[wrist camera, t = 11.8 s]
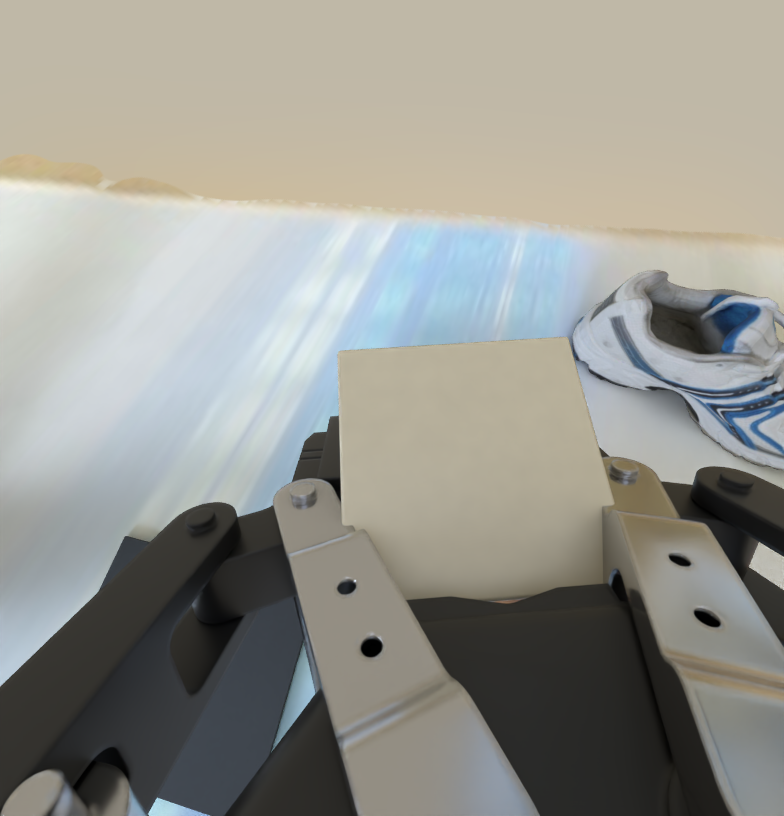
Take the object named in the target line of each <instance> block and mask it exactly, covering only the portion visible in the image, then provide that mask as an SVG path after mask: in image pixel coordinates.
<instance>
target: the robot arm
mask: <svg viewBox="0 0 784 816" xmlns="http://www.w3.org/2000/svg"><path fill="white" fill-rule="evenodd" d="M599 450H600V453H601V457H602V460H603V464H604V467H605V471H606V474H607V478H608V482H609V485H610V489H611V492H612V496H613V499H614V503H615V504H614V505H609V506H602V539H603V584H593V585H580V586H568V587H557V588H554V589H551V590H549V591H546V592H543V593H540V594H537V595H534V596H531V597H528V598H525V599H523V600H520V601H517V602H514V603H508V604H506V603H497V602H490V601H482V600H475V599H468V598H460V597H453V596H448V597H436V598H424V599H412V600H405V598H404V596H403V594H402V593H401V591H400V589H399V587H398V585H397V584H396V582H395V580H394V578H393V577H392V575H391V573H390V571H389V570H388V568H387V566H386V564H385V563H384V561H383V559H382V557H381V555H380V554H379V552H378V550H377V548H376V547H375V545H374V543H373V541H372V540H371V538H370V536H369V534H368V533H367V531H366V530H365V529H360V530H357V531H356V530H355V528H354V526H353V525H349V526H345V525H343V524H342V516H341V476H340V436H339V416H331V417H330V420H329V424H328V429H327V432H319V433H313V434H312V435H311V436H310V437H309V438H308V439H307V440H306V441H305V442H304V445H303V448H302V452H301V455H300V458H299V459H300V460H299V461H298V464H297V467H296V470H295V474H294V477H293V480H292V482H291V483H289V484H287V485H285V486H284V487H282V488H281V489H280V490H279V491H278V492H277V493H276V494H275V496H274V498H273V506H271V507H269V508H267V509H264V510H261V511H258V512H255V513H251V514H248V515H244V516H240V517H237V514H236V510H235V509H234V507H233V506H231V505H229V504H226V503H221V502H214V503H207V504H202V505H199V506H196V507H193V508H191V509H189V510H187V511H185V512H183V513H182V514H180V515H179V516H177V517H176V518H175V519H174V520H173V521H172V522H171V523H170V524H168V525H167V526H166V527H165V528H164V529H163V530H162V531H161V532H160V533H159V534H158V535H157V536H156V537H155V538H154V539H153V540H152V541H151V542H150V543H149V544H148V545H147V546H146V547H145V548H144V549H143V550H142V551H141V552H139V553H138V554H137V555H136V556H135V557H134V558H133V559H132V560H131V561H130V562H129V563H128V564H127V565H126V566H125V567H124V568H123V569H122V570H121V571H120V572H119V573H118V574H117V575H116V576H115V577H114V578H113V579H111V580H110V581H109V582H108V583H107V584H106V585H105V586H104V587H103V588H102V589H101V590H100V591H99V592H98V593H97V594H96V595H95V596H94V597H93V598H92V599H91V600H90V601H89V602H88V603H87V604H86V605H85V606H83V607H82V608H81V609H80V610H79V611H78V612H77V613H76V614H75V615H74V616H73V617H72V618H71V619H70V620H69V621H68V622H67V623H66V624H65V625H64V626H63V627H62V628H61V629H60V630H59V631H58V632H57V633H55V634H54V635H53V636H52V637H51V638H50V639H49V640H48V641H47V642H46V643H45V644H44V645H43V646H42V647H41V648H40V649H39V650H38V651H37V652H36V653H35V654H34V655H33V656H32V657H31V658H30V659H29V660H27V661H26V662H25V663H24V664H23V665H22V666H21V667H20V668H19V669H18V670H17V671H16V672H15V673H14V674H13V675H12V676H11V677H10V678H9V679H8V680H7V681H6V682H5V683H4V684H3V685H2V686H1V687H0V816H149V815H148V813H149V811H150V809H151V807H152V805H153V803H154V802H155V800H156V798H157V796H158V794H159V793H160V791H161V789H162V787H163V785H164V784H165V782H166V780H167V778H168V776H169V775H170V773H171V771H172V769H173V767H174V766H175V764H176V762H177V760H178V758H179V756H180V755H181V753H182V751H183V749H184V747H185V746H186V744H187V742H188V740H189V738H190V737H191V735H192V733H193V731H194V729H195V728H196V726H197V724H198V722H199V720H200V719H201V717H202V715H203V713H204V711H205V709H206V708H207V706H208V704H209V702H210V700H211V699H212V697H213V695H214V693H215V691H216V690H217V688H218V686H219V684H220V682H221V681H222V679H223V677H224V675H225V673H226V671H227V670H228V668H229V666H230V664H231V662H232V661H233V659H234V657H235V655H236V653H237V652H238V650H239V648H240V646H241V644H242V643H243V641H244V639H245V637H246V635H247V634H248V632H249V630H250V628H251V626H252V624H253V623H254V621H255V619H256V617H257V615H258V612H259V610H260V609H263V608H266V607H269V606H271V605H274V604H277V603H280V602H282V601H285V600H288V599H291V598H293V600H294V604H295V609H296V613H297V617H298V621H299V625H300V629H301V633H302V637H303V641H304V645H305V649H306V653H307V658H308V662H309V666H310V671H311V675H312V680H313V684H314V688H315V693H316V694H315V695H314V697H313V698H312V699H311V701H310V702H309V703H308V705H307V706H306V707H305V709H304V710H303V711H302V713H301V714H300V715H299V717H298V718H297V719H296V721H295V722H294V723H293V725H292V726H291V727H290V729H289V730H288V731H287V733H286V734H285V735H284V737H283V738H282V739H281V741H280V742H279V743H278V745H277V746H276V747H275V749H274V750H273V751H272V753H271V754H270V755H269V757H268V758H267V759H266V761H265V762H264V763H263V765H262V766H261V767H260V769H259V770H258V771H257V773H256V774H255V775H254V777H253V778H252V779H251V781H250V782H249V783H248V785H247V786H246V787H245V789H244V790H243V791H242V793H241V794H240V795H239V796H238V798H237V799H236V800H235V802H234V803H233V804H232V806H231V807H230V808H229V810H228V811H227V812H226V814H225V815H224V816H784V590H782V589H781V588H779V587H778V586H776V585H775V584H773V583H772V582H770V581H769V580H767V579H766V578H764V577H763V576H761V575H760V574H758V573H757V572H755V571H754V570H752V569H751V568H749V565H750V562H751V560H752V557H753V555H754V553H755V550H756V548H757V545H758V543H759V542H760V543H762V544H764V545H765V546H767V547H769V548H770V549H772V550H774V551H775V552H777V553H779V554H780V555H782V556H784V489H782V488H780V487H778V486H776V485H774V484H771V483H769V482H767V481H765V480H763V479H761V478H759V477H756V476H754V475H752V474H749V473H746V472H743V471H740V470H736V469H731V468H726V467H704V468H701V469H699V470H698V471H697V473H696V476H695V479H694V482H693V485H688V484H679V483H670V482H661V481H660V480H659V478H658V476H657V474H656V473H655V472H654V471H653V470H652V469H651V468H649V467H647V466H646V465H644V464H642V463H639V462H637V461H634V460H630V459H626V458H621V457H610V456H608V455H607V454H606V453H605V452H604V451H603V450H602V449H601V448H600V447H599ZM191 604H192V605H191ZM190 606H191V607H190ZM189 607H190V608H189ZM188 608H189V609H188ZM187 610H188V611H187ZM186 611H187V612H186ZM185 612H186V613H185ZM184 614H185V615H184ZM183 615H184V616H183ZM182 616H183V617H182ZM181 618H182V619H181ZM180 619H181V620H180ZM179 620H180V621H179ZM178 622H179V623H178Z"/></svg>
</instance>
